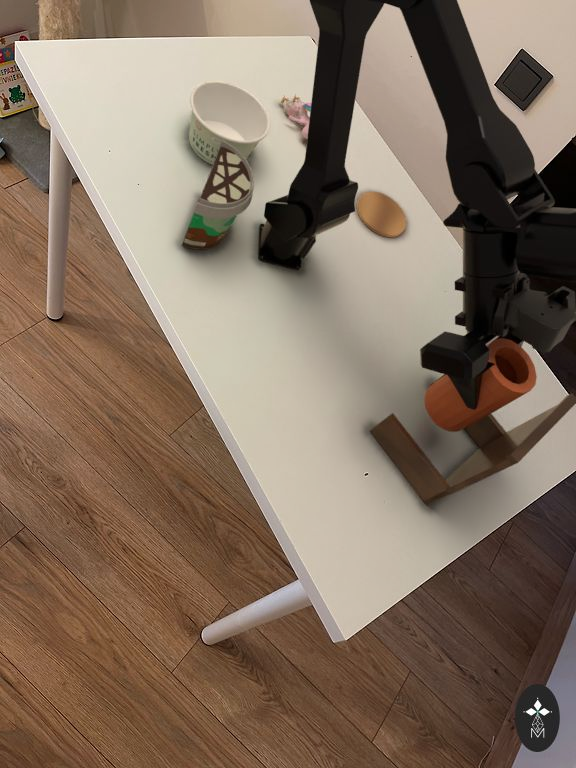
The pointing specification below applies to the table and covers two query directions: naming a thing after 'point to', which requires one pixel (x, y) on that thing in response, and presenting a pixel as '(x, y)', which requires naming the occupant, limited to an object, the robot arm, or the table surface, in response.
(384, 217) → the disc
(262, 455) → the table surface
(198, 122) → the food container
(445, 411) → the jar
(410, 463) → the wooden stand
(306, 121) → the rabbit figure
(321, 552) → the table surface
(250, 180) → the food container
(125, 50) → the table surface
